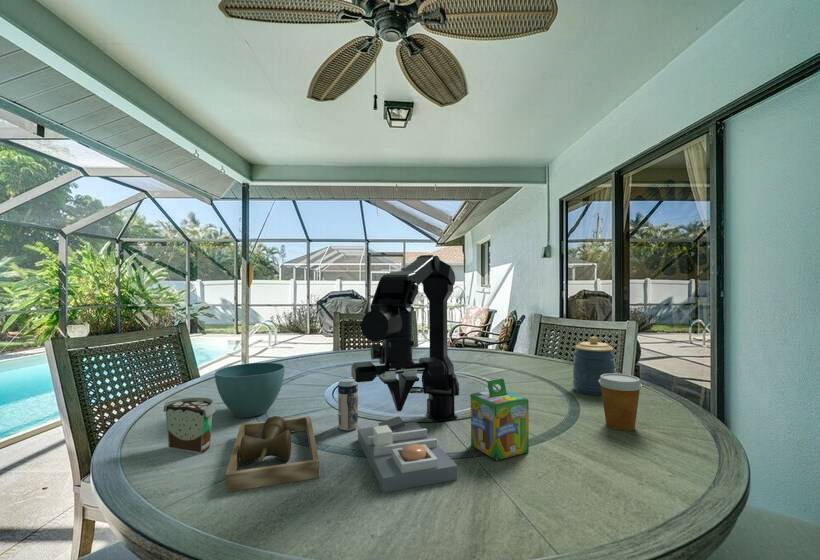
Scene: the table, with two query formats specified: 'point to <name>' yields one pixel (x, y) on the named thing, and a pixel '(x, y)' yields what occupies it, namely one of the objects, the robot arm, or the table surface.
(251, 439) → the kendama
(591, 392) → the canister
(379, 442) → the slider knob
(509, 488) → the table surface
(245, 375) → the teal bowl
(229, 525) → the table surface
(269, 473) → the tray
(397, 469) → the panel
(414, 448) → the push button
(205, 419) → the food container
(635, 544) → the table surface
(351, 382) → the beer can
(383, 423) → the rocker switch
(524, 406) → the chalk box
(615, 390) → the disposable coffee cup
